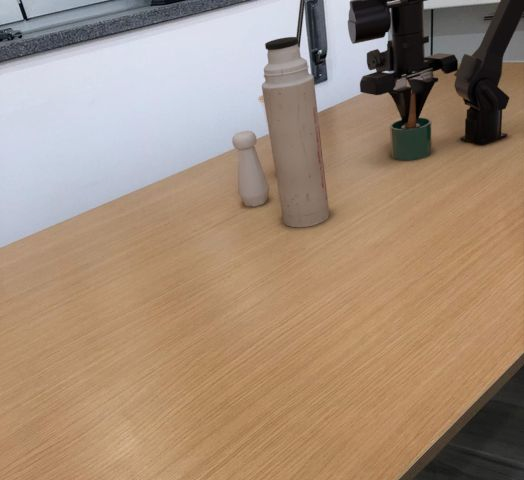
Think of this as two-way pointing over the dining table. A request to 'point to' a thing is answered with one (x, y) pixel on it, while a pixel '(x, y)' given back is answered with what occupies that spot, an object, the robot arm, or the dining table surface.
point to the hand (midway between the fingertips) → (410, 120)
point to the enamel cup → (411, 140)
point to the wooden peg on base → (412, 114)
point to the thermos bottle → (294, 134)
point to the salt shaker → (250, 170)
